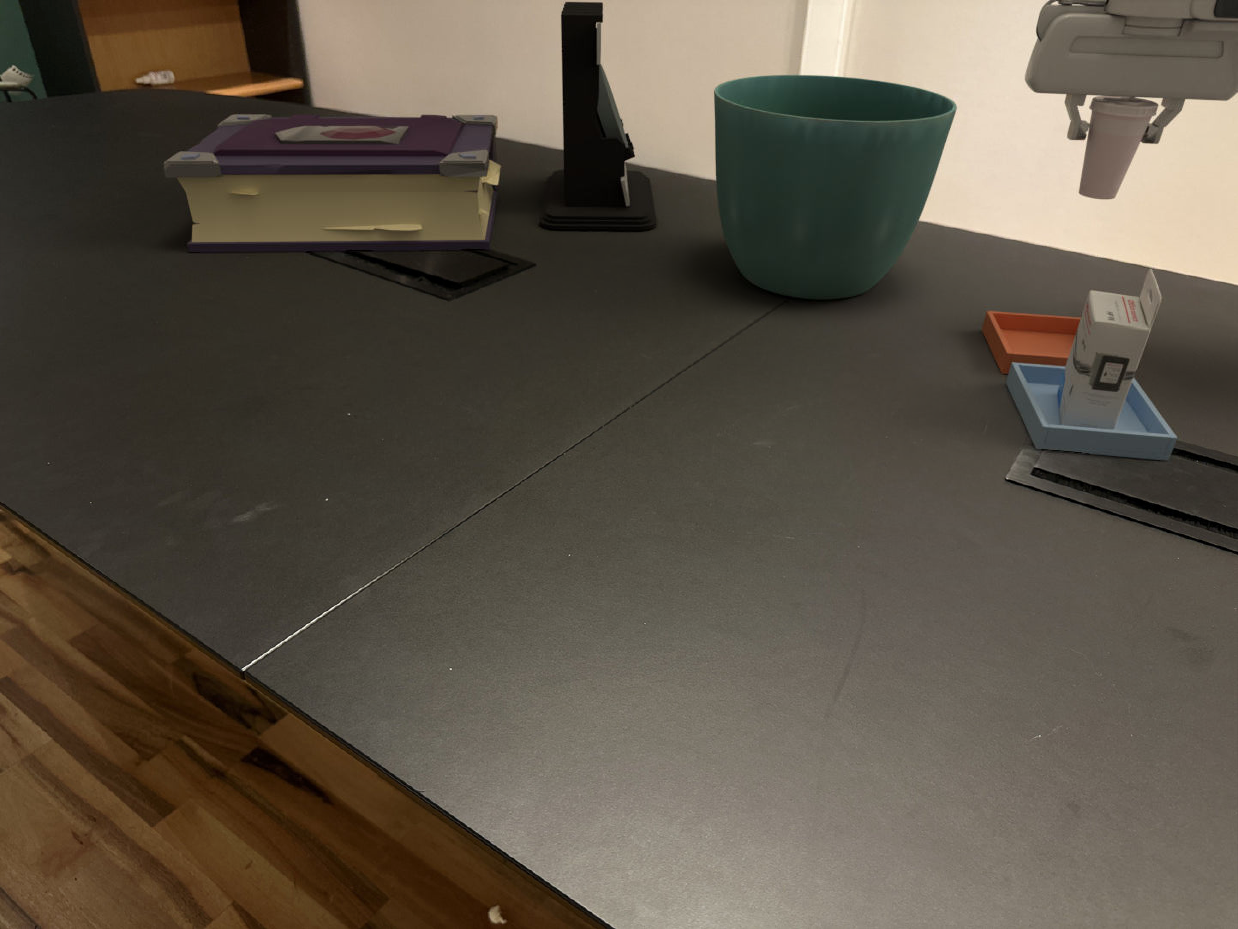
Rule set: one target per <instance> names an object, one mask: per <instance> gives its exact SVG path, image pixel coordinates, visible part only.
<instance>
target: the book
mask: <svg viewBox="0 0 1238 929" xmlns="http://www.w3.org/2000/svg"><path fill="white" fill-rule="evenodd" d="M498 127H499V126H498V116H496V115H495V114H456V115H451V117H447V115H440V114H421V115H420V116H414V117H413V116H320V114H316V113H315V114H292V115H291V116H287V117H283V116H281V117H273V116H272V115H271V114H254V113H253V114H250V113H249V114H247V113H246V114H243V113H242V114H239V113H238V114H235V113H234V114H231V115H229V116H228V117H227V118H225V119H223V120H222V121H221V122H220V123H218V124H217V128H216V129H215V130H214V131H213V132H211V133H210V134H208V135H207V136H206V137H204V138H203V139H201V141H200V142H199V143H197V144H196V145H193V146H192V147H190V148H188V149H187V151H181V150H180V151H179V152H176V153H174V154H173V155H172V156H171V157H169V158H168V159H166V160H165V161H164V162H163V171H164V176H165V178H169V179H171V178H176V179H177V181H178V182H179V183H180V184H179V185H181V187H182V188H183V190H184V191H185V195H186V198H187V203H188V206H189V211H190V212H189V213H190V215H191V219H192V223H193V224H192V227H191V239H190V240H189V241H188V242H187V243H186V246H187V250H188V253H189V252H199V253H276V252H277V253H299V252H300V253H301V252H302V253H303V252H304V253H305V252H307V251H313V252H347V251H346V250H372V251H371V252H398V251H399V252H408V251H410V252H412V251H413V252H415V251H416V252H417V251H419V252H420V251H421V250H423V251H428V252H429V251H463V250H462V249H467V248H478V249H485V250H484V251H490V250H491V244H492V243H491V242H492V236H493V230H494V224H495V216H496V210H497V204H498V197H499V191H500V190H499V182H500V174H501V169H502V165H500V164H498V156H497V154H498V153H497V138H496V136H497V133H498ZM447 249H448V250H447ZM421 252H422V251H421Z"/></svg>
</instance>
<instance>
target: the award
mask: <svg viewBox="0 0 1238 929" xmlns="http://www.w3.org/2000/svg"><path fill="white" fill-rule="evenodd" d="M603 22H604V3H603V2H601V1H600V2H599V1H565V2H564V4H563V7H562V10H561V14H560V34H561V35H560V36H561V40H560V41H561V42H560V43H561V86H562V87H561V89H562V90H561V91H562V92H561V94H562V134H563V135H562V144H563V148H562V149H563V151H562V152H563V169H558V170H555V171H553V172H552V174H551V175H550V176H548V177H547V180H546V186H545V189H544V191H545V192H544V196H543V200H542V206H541V212H540V215H539V216H540V217H539V225H540V226H541V227H542V228H545V229H549V230H570V231H571V230H572V231H573V230H575V231H576V230H577V231H578V230H579V231H581V230H583V231H584V230H586V231H587V230H588V231H589V230H590V231H595V230H596V231H645V230H646V231H647V230H652V229H654V228H655V227H656V226H657V225H658V224H657V223H658V221H657V215H656V209H655V203H654V202H655V201H654V197H653V190H652V182H651V179H650V177H648V176H646V174H644V173H643V172H642V171H639V170H627V169H628V168H627V165H626V161H629V160H630V159H633V158H635V157H636V154H635V151H634V150H635V147H634V144H633V141H632V140H631V138H630V135H629V132H626V131H625V129H624V122H623V119H622V117H621V116H620V112H619V109H618V106H617V103H616V100H615V97H614V94H613V91H612V88H611V85H610V82H609V80H608V77H607V74H606V71H605V69H604V67H603V65H602V62H601V61H602V57H601V56H602V23H603Z"/></svg>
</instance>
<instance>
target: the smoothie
mask: <svg viewBox="0 0 1238 929" xmlns="http://www.w3.org/2000/svg"><path fill="white" fill-rule="evenodd" d="M1088 107H1089V108H1088V109H1089V110H1090V111H1091V113H1090V119H1089V124H1090V125H1089V129H1088V131H1087V136H1086V145H1085V151H1084V158H1083V163H1082V170H1081V177H1080V182H1079V189H1078V194H1079V195H1080V196H1082V197H1086V198H1089V199H1093V200H1094V199H1095V200H1113V199H1116V197H1117V195H1118V193H1119V190H1120V188H1121V186H1122V183H1123V182H1124V179H1125V177H1126V175H1127V172H1128V170H1129V168H1130V166H1131V164H1132V161H1133V160H1134V157H1135V155H1136V153H1137V151H1138V148H1139V146H1140V144H1141V143H1142V142H1141V140H1142V137H1143V135H1144V133H1145V131H1146V129H1147V126H1148V124H1149V123H1151V119H1152V117H1155V116H1157V111H1158V108H1159V104H1158V103H1157V102H1156V101H1153V100H1150V99H1146V98H1142V97H1121V96H1097V95H1096V96H1094V97H1092V98H1091V102H1090V104H1089V106H1088Z"/></svg>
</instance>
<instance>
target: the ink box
mask: <svg viewBox="0 0 1238 929" xmlns="http://www.w3.org/2000/svg"><path fill="white" fill-rule="evenodd" d="M1160 290H1161V289H1160V287H1159V284H1158V282H1157V279H1156V276H1155V274H1154V271H1153V269H1152V268H1149V269H1148V270H1147V273H1146V276H1145V279H1144V282H1143V285H1142V289H1141V292H1140V294H1139V296H1134V295H1126V294H1121V293H1114V292H1107V291H1100V290H1093V289H1092V290H1089V292H1088V295H1087V297H1086V300H1085V304H1084V307H1083V311H1082V314H1081V316H1080V318H1081V320H1080V323H1079V326H1078V329H1077V332H1076V335H1075V338H1074V342H1073V345H1072V348H1071V351H1070V354H1069V357H1068V360H1067V363H1066V366H1065V370H1064V372H1063V376H1062V379H1061V382H1060V385H1059V389H1058V402H1059V413H1060V423H1061V425H1064V426H1075V427H1087V428H1099V429H1111V430H1115V427H1116V424H1117V421H1118V418H1119V416H1120V413H1121V410H1122V408H1123V405H1124V402H1125V399H1126V397H1127V394H1128V391H1129V389H1130V386H1131V383H1132V381H1133V378H1134V379H1135V375H1136V372H1137V369H1138V367H1139V364H1140V361H1141V359H1142V356H1143V353H1144V350H1145V348H1146V345H1147V342H1148V339H1149V337H1150V334H1151V330H1152V328H1153V325H1154V322H1155V320H1156V317H1157V314H1158V311H1159V309H1160V307H1161V304H1162V298H1163V296H1162V292H1161V291H1160ZM1150 293H1151V297H1150Z"/></svg>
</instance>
